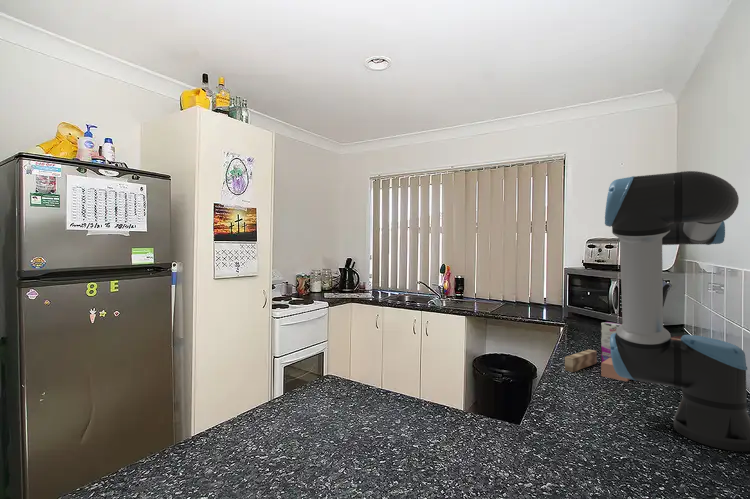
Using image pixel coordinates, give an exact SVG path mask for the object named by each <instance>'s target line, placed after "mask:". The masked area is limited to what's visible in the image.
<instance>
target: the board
mask: <svg viewBox="0 0 750 499" xmlns="http://www.w3.org/2000/svg"><path fill="white" fill-rule="evenodd" d="M597 354H598V353H597V350H593V349H585V350H582V351H580V352H576V353H574V354H570V355H567V356H564V371H565V372H566V371H567V372H571V373H575V372H577V371H580V370H582V369H586V368H588V367H590V366H593V365H596V364H597V363H598V360H597V358H598V357H597Z"/></svg>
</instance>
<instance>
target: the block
mask: <svg viewBox="0 0 750 499" xmlns="http://www.w3.org/2000/svg"><path fill="white" fill-rule="evenodd" d="M600 369H601V370H600V371H601V372H600V373H601V375H600V376H601V377H604V378H609V379H613V380H618V381H623V382H629V381H630V380H631V379H628V378H623V377H620V376H619V375H618V374H617V373H616V372H615V370H614V367H613V363H612V358H608V359H607V360H605V361H603V362H602V363H600Z"/></svg>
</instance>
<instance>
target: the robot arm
mask: <svg viewBox="0 0 750 499" xmlns="http://www.w3.org/2000/svg"><path fill="white" fill-rule="evenodd" d="M738 205H739V194H738V192H737V190H736V188H735V187H734V186H733V185H732V184H731V183H729V182H728V181H727V180H725V179H723V178H721V177H719V176H717V175H714V174H712V173H708V172H705V171H704V172H703V171H698V170H695V171H694V170H692V171H691V170H686V171H685V170H684V171H680V172H679V171H678V172H670V173H669V172H668V173H657V174H646V175H637V176H635V175H633V176H628V177H622V178H617V179H615V180H613V181H612V182H611V183H610V185H609V187H608V190H607V196H606V203H605V212H604V225H605V226H606V227H608V228H611V229H612V230H611V233H612V234H613V235H614V237H616V238H618V239H619V255H620V258H619V260H620V284H621V287H620V288H621V289H620V290H621V314H622V318H621V319H622V323H621V324H622V325H620V326H619V327H618V328H617V329H616V333H613V334H611V337H610V348H611V358H612V363H613V367H614V370H615V372H616V373H617V374H618V375H619V376H620V377H623V378H628V379H630V380H633V381H635V382H645V383H650V384H651V383H652V384H657V385H663V386H669V387H675V388H679V389H680V388H681V392H682V394H681V396H682V397H681V400H680V402H679V405H678V407H677V408H676V412H675V413H674V415H673V428H674V430H675V431H676V432H677V433H678V434H680V435H682V436H683V437H685V438H688V439H689V440H691V441H694V442H696V443H699V444H702V445H705V446H707V447H711V448H714V449H715V448H716V449H720V450H726V451H731V452H750V416H749V415H750V414H749V413H748V410H747V404H748V403H747V402H748V401H747V370H748V366H747V362H746V353H745V351H744V350H743V349H742V348H740V347H739V346H738V345H736V344H733V343H731V342H727V341H724V340H720V339H715V338H712V337H707V336H703V335H702V336H701V335H697V334H696V335H695V334H694V335H693V334H684V335H683V334H682V335H683V336H682V335H681V336H682V338H681V341H680V340H671V337H672V336H671V333H670V332H669V330H667V329H666V328H665V327H664V307H665V306H664V305H665V302H666V299H667V295H668V292H669V290H670V289H671V287H673V285H672V284H671V283H668V282H666V281H664V278H663V277H664V276H663V246H664V245H665V246H671V245H674V246H676V245H706V246H710V245H719V244H722V243H725V238H726V225H725V221H727V220H728V219H729V218H731V217H732V215H734V213H735V212H736V210H737V209H738Z"/></svg>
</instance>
